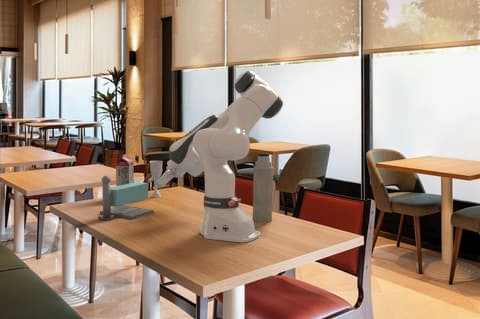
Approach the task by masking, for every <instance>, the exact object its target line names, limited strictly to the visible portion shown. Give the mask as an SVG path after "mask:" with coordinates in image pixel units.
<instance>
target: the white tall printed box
mask: <svg viewBox="0 0 480 319" xmlns="http://www.w3.org/2000/svg"><path fill="white" fill-rule="evenodd" d="M134 174H135V173H134V159H132V158H130V157H128V153H126V154H123V155H122V157H121V159H119V160H117V161H115V187H116V186H120V185H125V184H130V183H135V180H134Z"/></svg>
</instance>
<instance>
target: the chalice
mask: <svg viewBox="0 0 480 319" xmlns="http://www.w3.org/2000/svg"><path fill="white" fill-rule="evenodd" d="M163 162H164V161H163V160H150V161H149V165H150V174H151V177H152V179H153V180H155V183H154V186H155V185H156V184H157V183H156V181H157V180H158V179H159V178H160V177H161V176H162V172H163ZM151 198H155V199H157V198H162V195H161V193H160V191H158V189H157V190H154V191H153V192H152V194H151Z"/></svg>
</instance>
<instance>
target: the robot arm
mask: <svg viewBox="0 0 480 319" xmlns="http://www.w3.org/2000/svg"><path fill="white" fill-rule="evenodd" d="M234 89H235V91H236V92H237V94H239V95H240V96H239V97H238V98H236V99H235V100H234V101H233V102H232V103H230V105H229V106H228V107H227V108H226V109H225V110H224V111H223V112H221V113H220V114H217V115H216V114H211V115H210V116H208V117H207V118H205V119H204V120H202V121H201V122H200V123H198V124H197V125H196V126H195V127H194V128H192V129H191V130H190V131H189V132H187V133H186V134H185V135H183V136H181V137H180V138H178V139H176V140H175V141H174V142H173V143H172V144H171V145H170V146H169V148H168V155H169V160H168V161H167V162H166V164H167V166H166V170H165V172H164V173H163V174H161V176H160V178H159V179H158V180H157V181H155V182H156V183H157V184H156V185H155V184H154V186H153V187H152V189H153V190H154V191H155V190H157V191H158V189H159V188H164V186H166V185H167V184H168V183H169V182H170V181H171V180H172V179H173V178H178V177H179V178H181V177H182V178H183V176H184V175H185V174H186V173H188V174H189V175H190V176H192V177H194V178H196V177H202V175H204V195H203V209H204V211H203V220H202V224H201V229H200V232H199V233H200V234H201V235H202V236H203V238H204V239H206V240H215V241H226V242H234V243H248V242H251V241H254V240H257V239H258V238H260V237H261V232H260V230H256V229H255V223H254V222H255V221H253V217H252V216H251V215H249V214H248V213H247V212H246V211H245V210H244V209H242V207H241V206H240V204H239V203H241V201H242V198H238V197H237V196H236V189H235V188H236V175H235V173H234V171H233V170H232V168H230V165H229V162H228V161H237V160H242V159H244V158H245V157H247V155H248V154H249V151H250V149H251V142H250V138H249V136H250V133H251V132H252V130H253V128H254V127H255V126H256V125H257V123H258V122H259V120H260V119H261V118H263V119H269V120H270V119H272V118H274V117H276V116H277V115H278V114H279V113H280V112H281V110H282V108H283V106H284V102H283V100H282V99H281V97H280V96H279V95H277V93H276V92H275V91H274V90H273V88H272V87H270V86H269V84H268V83H267V82H266V81H265V80H264V79H262V78H261V77H259V76H258V75H257V74H256V73H255V72H254V71H251V70H246V71H244V72H241V74H239V75H238V76H237V78H236V80H235V83H234Z"/></svg>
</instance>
